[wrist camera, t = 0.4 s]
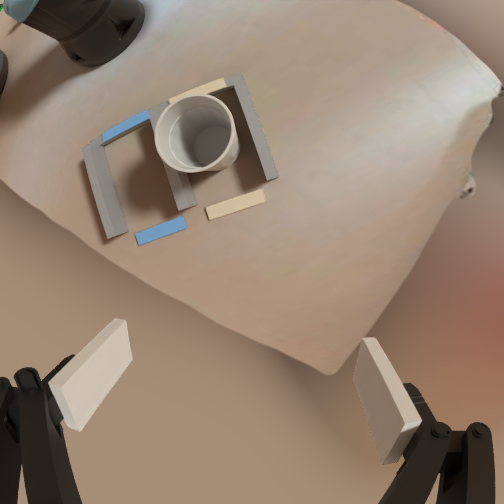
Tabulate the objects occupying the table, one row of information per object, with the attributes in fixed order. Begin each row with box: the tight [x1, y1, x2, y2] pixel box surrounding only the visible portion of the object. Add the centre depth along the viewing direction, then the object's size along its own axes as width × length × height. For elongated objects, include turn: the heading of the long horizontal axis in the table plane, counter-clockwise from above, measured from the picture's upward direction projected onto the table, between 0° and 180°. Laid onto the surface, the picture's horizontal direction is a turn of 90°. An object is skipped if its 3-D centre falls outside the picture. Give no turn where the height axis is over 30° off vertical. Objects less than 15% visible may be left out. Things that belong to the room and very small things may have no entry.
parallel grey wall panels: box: [82, 73, 279, 245], centre depth 36 cm, size 18×24×4 cm
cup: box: [154, 93, 240, 173], centre depth 31 cm, size 8×8×12 cm
